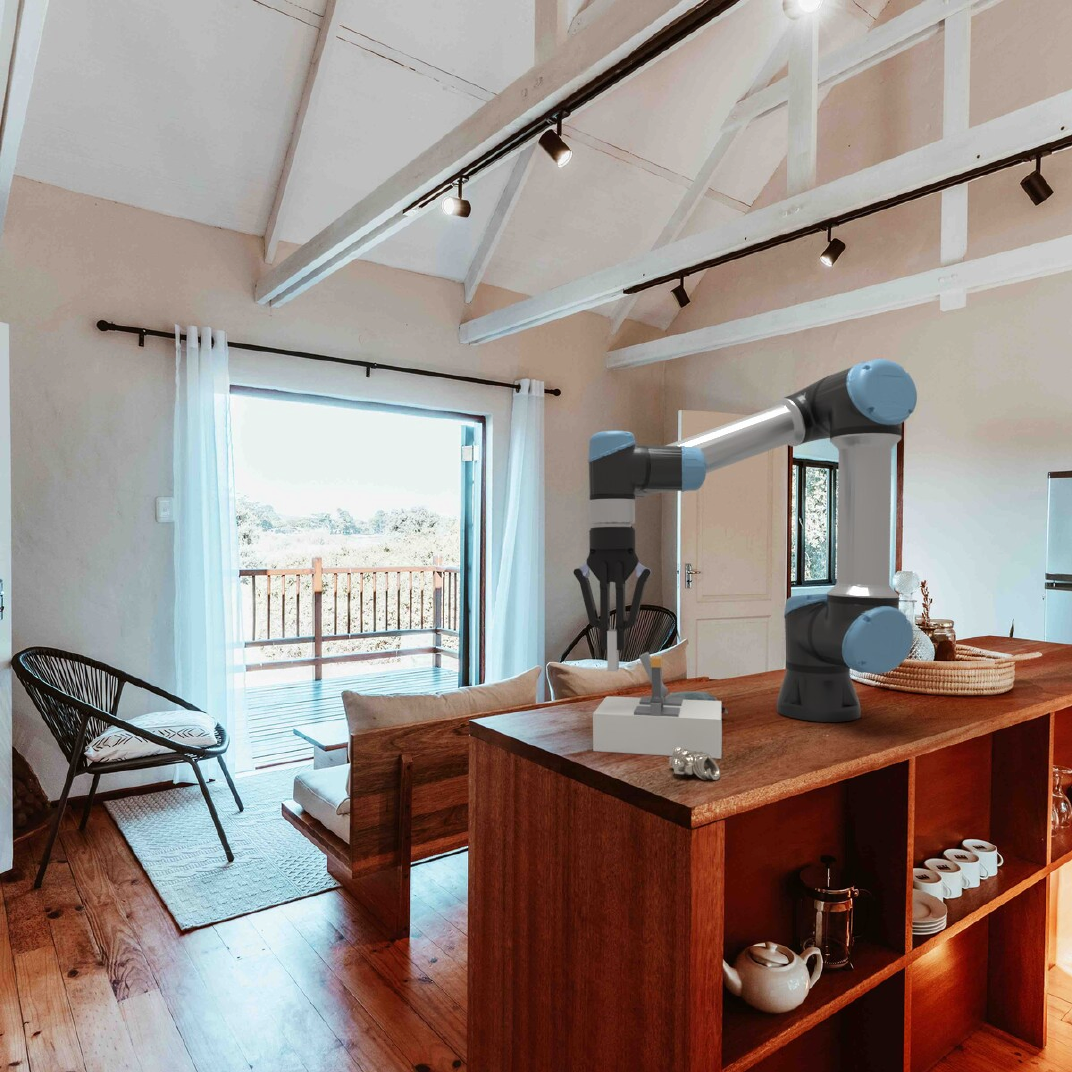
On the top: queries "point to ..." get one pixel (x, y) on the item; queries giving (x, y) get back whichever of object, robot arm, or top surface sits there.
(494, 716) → the top surface
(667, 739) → the box
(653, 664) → the lever
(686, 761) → the ornament
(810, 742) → the top surface
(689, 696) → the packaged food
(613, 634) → the robot arm
